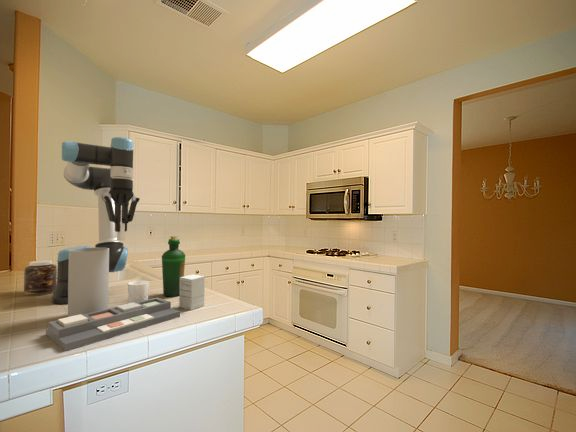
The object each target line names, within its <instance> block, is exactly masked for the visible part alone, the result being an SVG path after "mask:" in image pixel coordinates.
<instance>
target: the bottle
mask: <svg viewBox="0 0 576 432" xmlns="http://www.w3.org/2000/svg"><path fill="white" fill-rule="evenodd" d="M180 244H181V242H180V238H178V236H176V235H175V236H174V235H172V236H170V238H169V239H168V242H167V245H168V246H169V247H168V248H169V249H167V250H166V251H165V252H163V253H162V255H161V269H162V270H161V272H162V291H163V293H162V294H163V296H165V297H168V298H170V297H171V298H173V297H178V296H179V297H180V277H184V276H185V266H186V265H185V264H186V254H185V253H184V251H183V250H181V249H179V247H180Z"/></svg>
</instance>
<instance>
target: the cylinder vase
mask: <svg viewBox="0 0 576 432" xmlns="http://www.w3.org/2000/svg"><path fill="white" fill-rule="evenodd" d="M109 280H110V272H109V248H95V247H91V248H79V249H71V250H69V267H68V304H67V317H71V316H75V315H79V314H81V315H82V314H87V313H91V312H95V311H100V310H104V309H109V288H110V287H109V285H110V281H109Z"/></svg>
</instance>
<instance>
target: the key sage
mask: <svg viewBox="0 0 576 432" xmlns="http://www.w3.org/2000/svg"><path fill="white" fill-rule="evenodd" d="M156 304H160V303H159V302H156V301H154V302H150V303H146V304H142V305H145V306H147V307H148V306H152V305H156Z"/></svg>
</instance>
